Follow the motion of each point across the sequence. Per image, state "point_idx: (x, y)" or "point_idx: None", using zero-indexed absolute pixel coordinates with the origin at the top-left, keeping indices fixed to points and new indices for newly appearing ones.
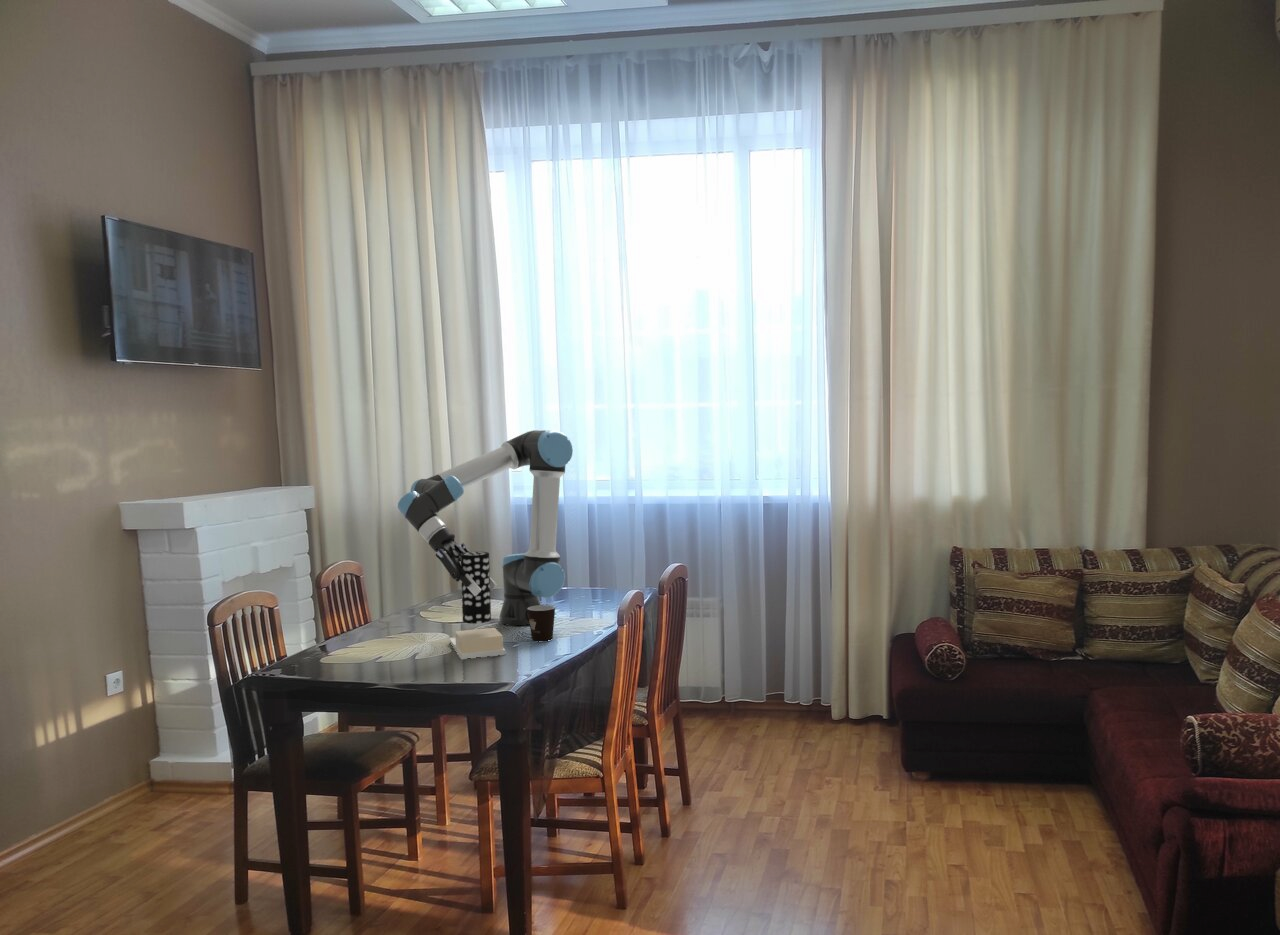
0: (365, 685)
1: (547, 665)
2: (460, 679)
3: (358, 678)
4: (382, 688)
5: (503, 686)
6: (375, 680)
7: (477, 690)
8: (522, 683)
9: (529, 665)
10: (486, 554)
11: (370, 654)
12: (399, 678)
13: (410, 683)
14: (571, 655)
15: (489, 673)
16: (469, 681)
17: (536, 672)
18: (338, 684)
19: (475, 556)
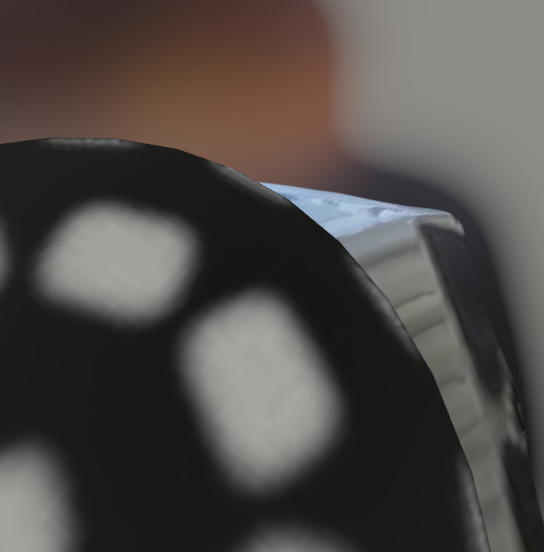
0: (520, 466)
1: (320, 200)
2: (425, 300)
3: (488, 516)
4: (520, 417)
5: (436, 226)
6: (485, 463)
7: (466, 254)
8: (415, 207)
9: (324, 223)
10: (173, 151)
11: None
12: (456, 416)
13: (475, 377)
14: (258, 182)
15: (381, 267)
16: (430, 281)
17: (359, 204)
18: (540, 540)
19: (396, 335)
